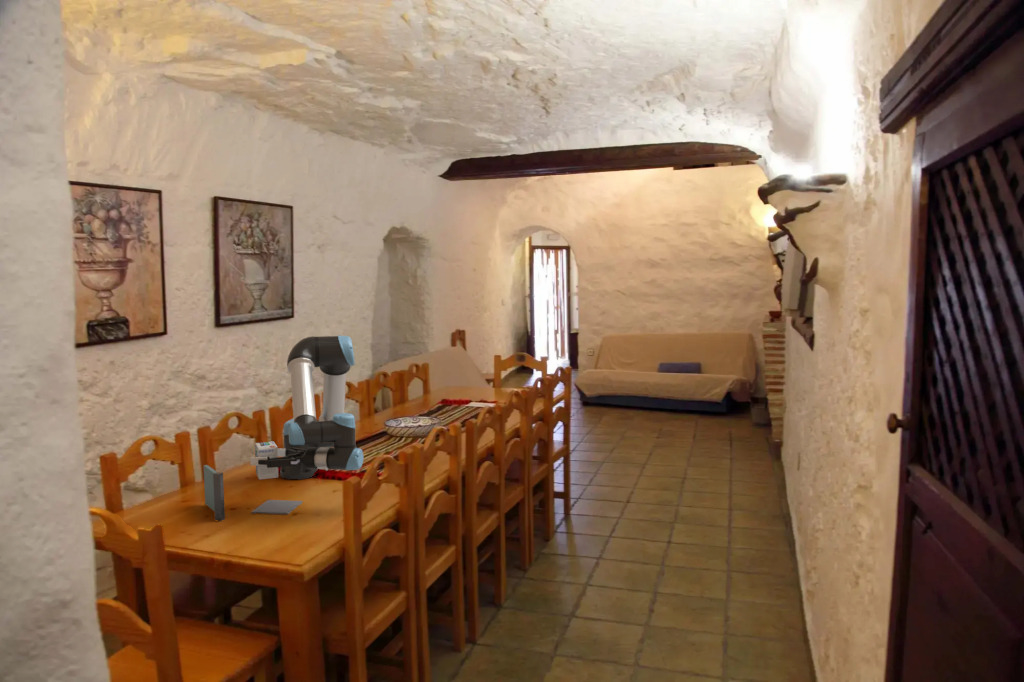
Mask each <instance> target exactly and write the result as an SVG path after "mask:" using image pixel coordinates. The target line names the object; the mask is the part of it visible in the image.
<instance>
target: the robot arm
mask: <svg viewBox="0 0 1024 682" xmlns="http://www.w3.org/2000/svg"><path fill="white" fill-rule="evenodd" d="M355 364H356V362H355V355H354V347H353V341H352V338H351V337H350V336H348V335H339V334H338V335H334V336H333V335H332V336H329V335H327V336H326V335H325V336H307V337H305V338H303V339H301V340H299V341H298V342H297V343H296V344H294V346H293V347H292V348H291V350H290V352H289V354H288V356H287V362H286V368H287V372H288V373H289V374H290V384H291V386H290V387H291V397H292V414H293V417H292V418H291V419H289V420H288V421H286V422H284V424H283V433H282V435H283V448H278V457H277V458H270V457H269V456H268V457H255V456H250V458H249V460H250V461H249V463H250V464H249V465H250V466H256V465H259V466H267V468H273V467H278V468H280V471H279V474H280V475H279V476H281V477H282V478H281V477H280V478H281V479H284V478H286V479H285V480H290V479H298V480H305V479H310V477H311V478H313V477H312V476H313V475H314V473H315V472H316V471H317V470H318V469H319V470H325V472H327V471H329V470H339V471H357V470H360V469H361V468H362V466H363V463H364V459H365V458H364V453H363V452H364V451H363V449H361V448H358V447H357V445H356V419H355V416H354V414H352V413H350V412H349V413H348V412H345V410H346V409H345V405H346V383H347V374H348V373H349V372H350V370H351V367H353V366H355ZM315 368H319V370H320V371H321V372H322V373H323V378H322V379H323V381H322V382H323V384H322V385H323V386H322V391H323V392H322V413H320V416H319V417H318V419H317V414H316V413H317V411H316V401H315V400H316V399H315V389H314V388H315V387H314V380H313V379H314V378H313V372H314V369H315Z"/></svg>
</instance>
